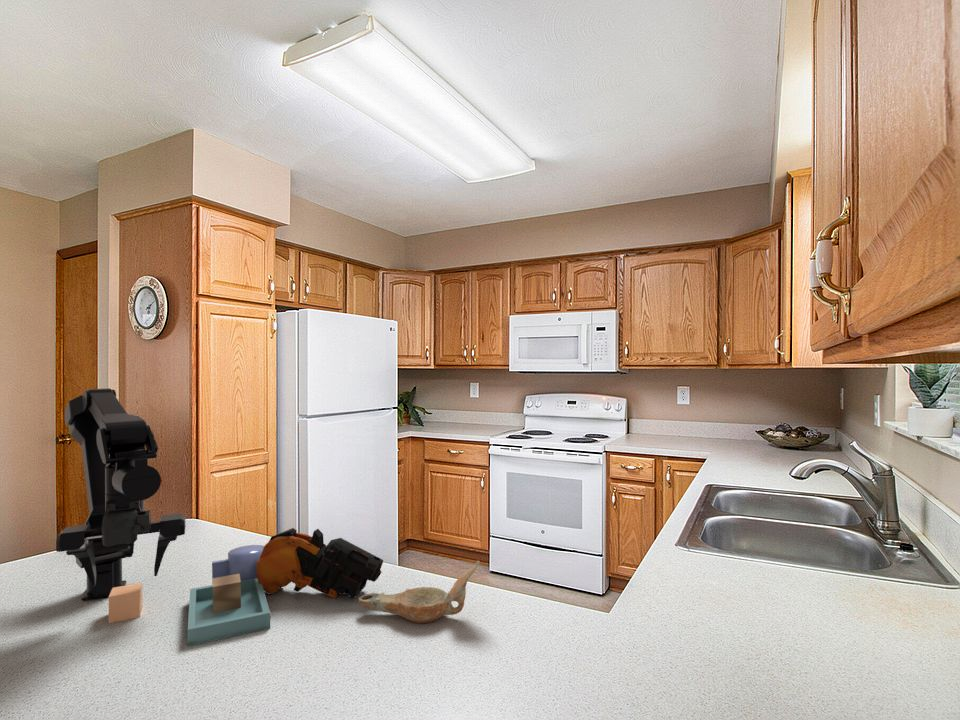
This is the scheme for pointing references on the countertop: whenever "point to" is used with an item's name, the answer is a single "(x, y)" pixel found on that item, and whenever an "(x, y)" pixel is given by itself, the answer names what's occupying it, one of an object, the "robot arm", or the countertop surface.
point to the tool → (315, 564)
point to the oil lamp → (421, 601)
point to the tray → (227, 614)
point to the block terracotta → (125, 602)
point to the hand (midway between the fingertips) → (125, 580)
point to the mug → (239, 562)
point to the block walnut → (226, 593)
